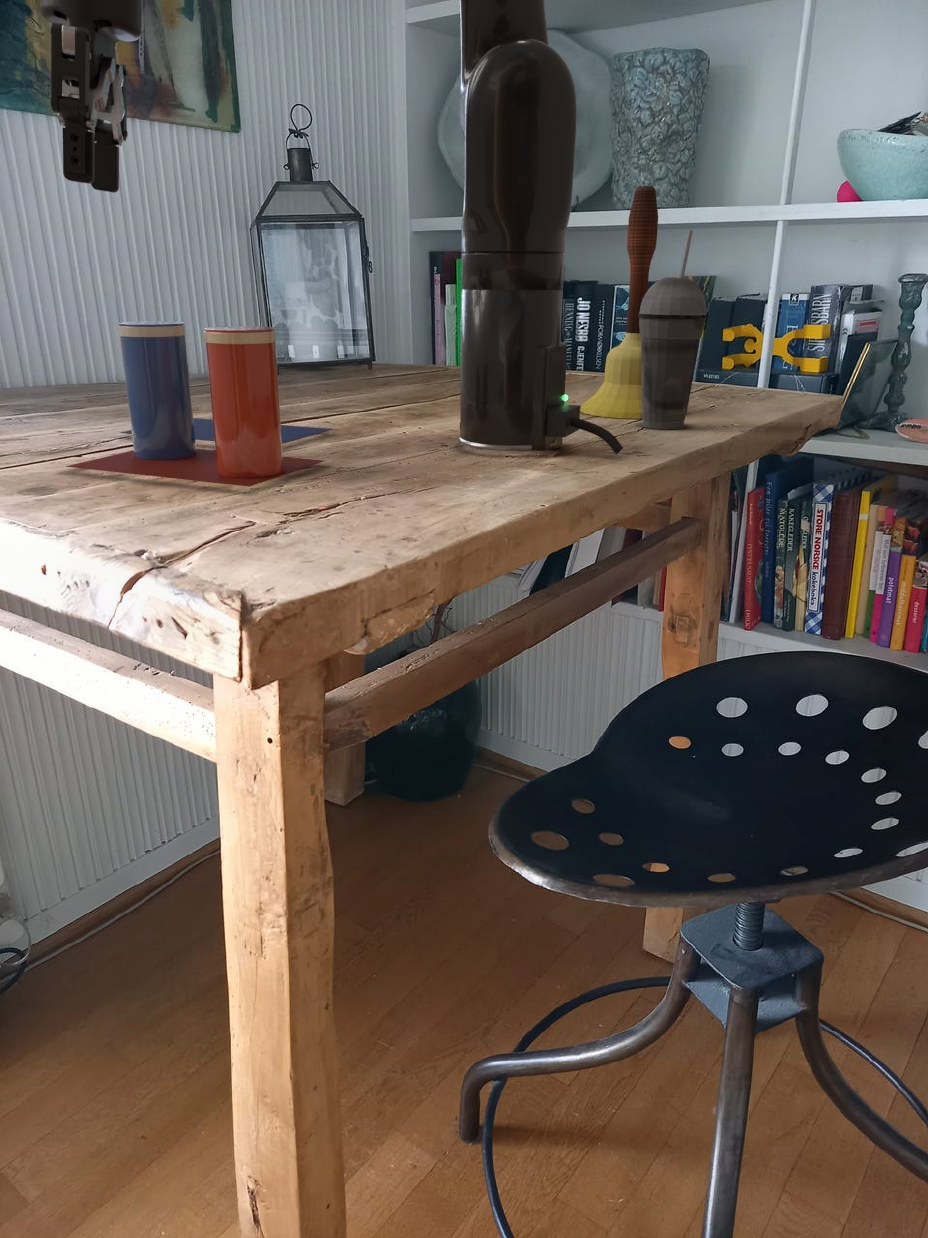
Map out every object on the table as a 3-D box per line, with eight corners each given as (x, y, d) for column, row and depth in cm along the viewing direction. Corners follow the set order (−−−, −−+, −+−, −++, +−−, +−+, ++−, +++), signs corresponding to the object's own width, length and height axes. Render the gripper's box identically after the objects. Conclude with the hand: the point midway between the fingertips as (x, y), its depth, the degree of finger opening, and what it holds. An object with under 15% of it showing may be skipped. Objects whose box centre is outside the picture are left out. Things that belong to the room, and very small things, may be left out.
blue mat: (333, 434, 93) (333, 428, 93) (272, 452, 84) (272, 445, 83) (191, 423, 99) (191, 417, 99) (120, 438, 90) (119, 432, 90)
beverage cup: (646, 419, 105) (661, 231, 98) (706, 425, 101) (726, 230, 94) (618, 426, 99) (631, 229, 92) (680, 433, 95) (699, 227, 88)
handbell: (676, 420, 104) (698, 179, 95) (570, 415, 107) (582, 182, 98) (684, 407, 115) (704, 190, 106) (588, 402, 118) (599, 192, 109)
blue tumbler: (209, 451, 80) (197, 322, 76) (170, 462, 76) (155, 324, 72) (162, 447, 82) (147, 320, 78) (120, 457, 78) (103, 323, 74)
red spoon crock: (297, 468, 74) (288, 327, 70) (259, 480, 69) (248, 330, 65) (243, 462, 76) (232, 325, 72) (203, 474, 71) (188, 328, 67)
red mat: (325, 467, 77) (325, 460, 77) (249, 493, 68) (249, 485, 68) (157, 451, 84) (156, 444, 83) (66, 473, 74) (65, 465, 74)
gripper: (121, -62, 64) (120, 187, 70) (158, -6, 77) (155, 200, 83) (9, -85, 63) (17, 171, 69) (66, -23, 76) (69, 186, 82)
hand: (92, 186), depth 76 cm, fingers open, 8 cm apart
